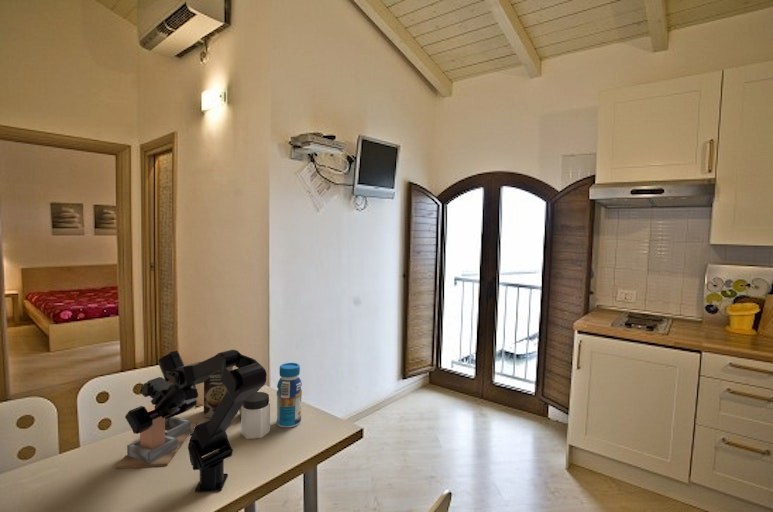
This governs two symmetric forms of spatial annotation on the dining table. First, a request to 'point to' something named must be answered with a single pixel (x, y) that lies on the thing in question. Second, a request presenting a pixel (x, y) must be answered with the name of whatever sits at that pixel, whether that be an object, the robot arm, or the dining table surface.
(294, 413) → the beverage bottle
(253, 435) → the jar
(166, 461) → the cap board
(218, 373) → the coffee box
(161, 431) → the pink rectangular block
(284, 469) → the dining table surface
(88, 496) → the dining table surface
